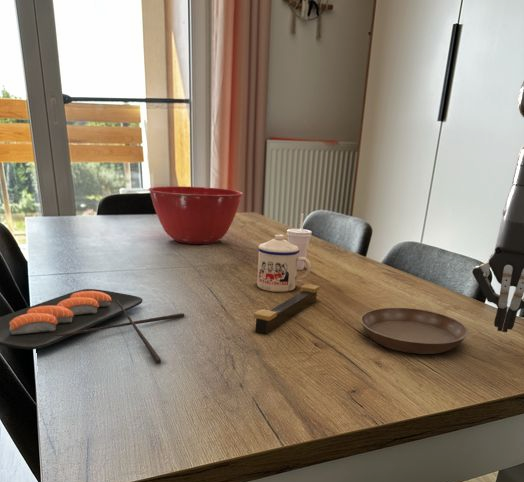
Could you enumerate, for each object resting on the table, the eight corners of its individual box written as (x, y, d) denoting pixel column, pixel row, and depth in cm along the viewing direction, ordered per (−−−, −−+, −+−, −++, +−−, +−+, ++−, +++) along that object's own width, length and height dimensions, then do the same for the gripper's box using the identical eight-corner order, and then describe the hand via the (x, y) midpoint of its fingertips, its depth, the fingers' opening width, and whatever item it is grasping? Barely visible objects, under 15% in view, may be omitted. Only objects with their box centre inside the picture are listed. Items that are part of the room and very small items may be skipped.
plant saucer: (383, 361, 79) (386, 343, 78) (344, 323, 95) (346, 307, 94) (486, 358, 82) (490, 340, 81) (431, 321, 98) (434, 306, 97)
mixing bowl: (161, 230, 176) (160, 183, 170) (243, 235, 176) (245, 188, 170) (139, 246, 150) (137, 191, 144) (237, 251, 150) (238, 196, 144)
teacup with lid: (251, 289, 113) (253, 236, 108) (261, 280, 121) (264, 230, 116) (305, 296, 110) (309, 241, 106) (312, 286, 118) (316, 235, 114)
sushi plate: (86, 296, 102) (85, 277, 101) (223, 321, 92) (224, 300, 91) (-42, 344, 77) (-46, 319, 75) (128, 384, 67) (127, 357, 66)
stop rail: (318, 301, 107) (319, 285, 106) (268, 335, 87) (269, 316, 86) (305, 298, 108) (306, 283, 107) (252, 331, 88) (253, 313, 87)
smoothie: (301, 272, 130) (306, 215, 125) (279, 268, 133) (283, 212, 128) (312, 268, 135) (317, 213, 130) (291, 264, 138) (295, 210, 133)
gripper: (579, 221, 75) (547, 332, 82) (484, 211, 81) (461, 316, 87) (583, 227, 69) (548, 346, 76) (479, 216, 74) (455, 328, 81)
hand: (502, 330), depth 81 cm, fingers closed
